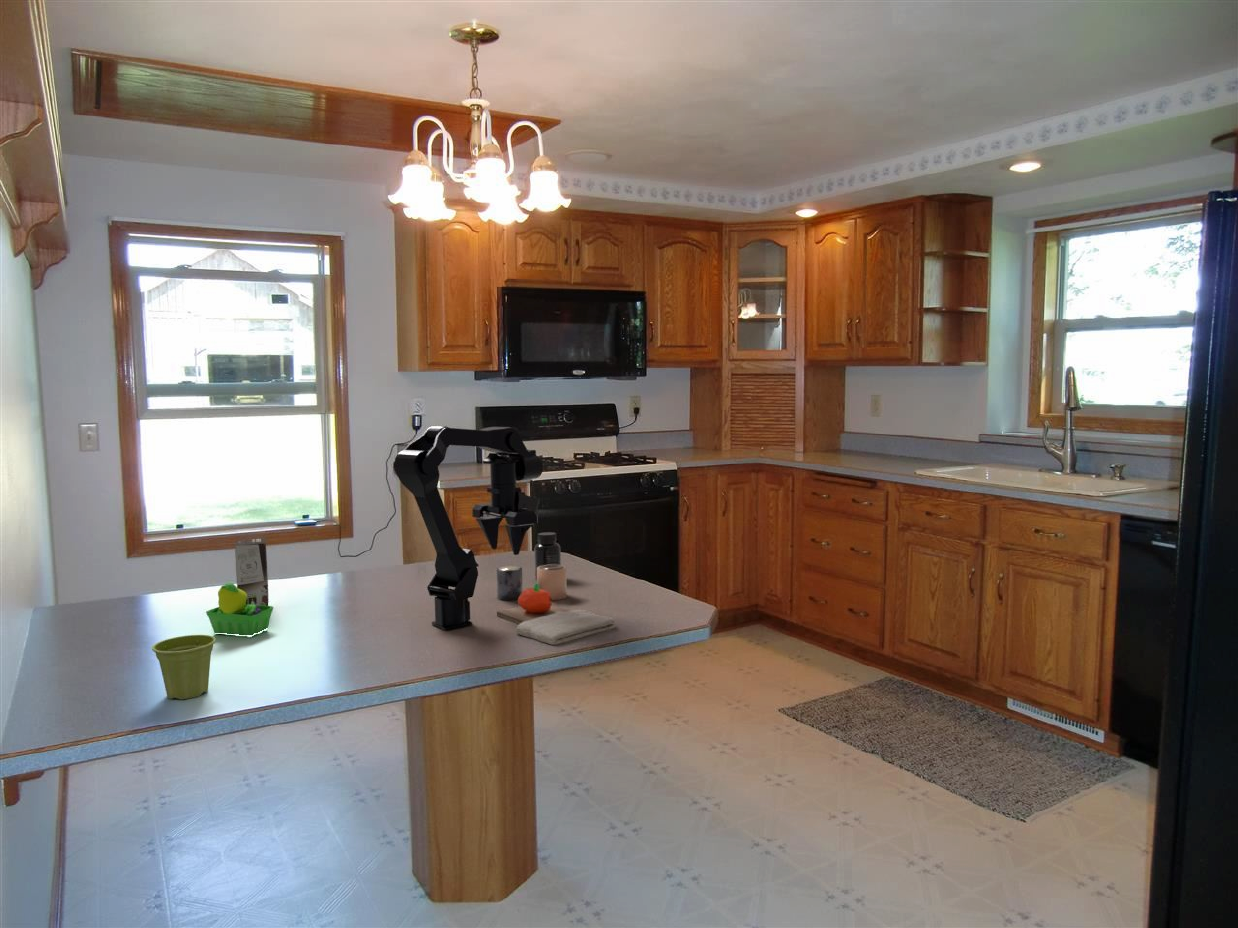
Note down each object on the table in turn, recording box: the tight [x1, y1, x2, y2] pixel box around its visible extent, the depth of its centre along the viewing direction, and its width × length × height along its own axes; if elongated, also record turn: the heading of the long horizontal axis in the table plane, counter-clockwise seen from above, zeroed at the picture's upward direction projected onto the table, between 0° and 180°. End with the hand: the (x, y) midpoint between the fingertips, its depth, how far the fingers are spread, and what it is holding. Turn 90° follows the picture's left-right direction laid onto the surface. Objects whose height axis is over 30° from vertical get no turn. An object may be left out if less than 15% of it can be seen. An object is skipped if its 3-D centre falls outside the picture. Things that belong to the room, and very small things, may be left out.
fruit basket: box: [205, 582, 275, 635], centre depth 176 cm, size 11×9×11 cm
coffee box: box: [234, 537, 269, 606], centre depth 194 cm, size 9×6×16 cm
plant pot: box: [151, 634, 216, 700], centre depth 142 cm, size 9×9×9 cm
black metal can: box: [496, 565, 524, 602], centre depth 204 cm, size 6×6×7 cm
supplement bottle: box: [533, 531, 562, 581], centre depth 223 cm, size 7×7×12 cm
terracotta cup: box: [536, 564, 568, 601], centre depth 205 cm, size 7×7×7 cm
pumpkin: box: [517, 582, 553, 613], centre depth 187 cm, size 7×8×6 cm
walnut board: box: [496, 605, 569, 625], centre depth 187 cm, size 12×12×1 cm
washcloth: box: [515, 608, 616, 646], centre depth 176 cm, size 12×18×3 cm, turn 136°
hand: (505, 551), depth 193 cm, fingers open, 9 cm apart
